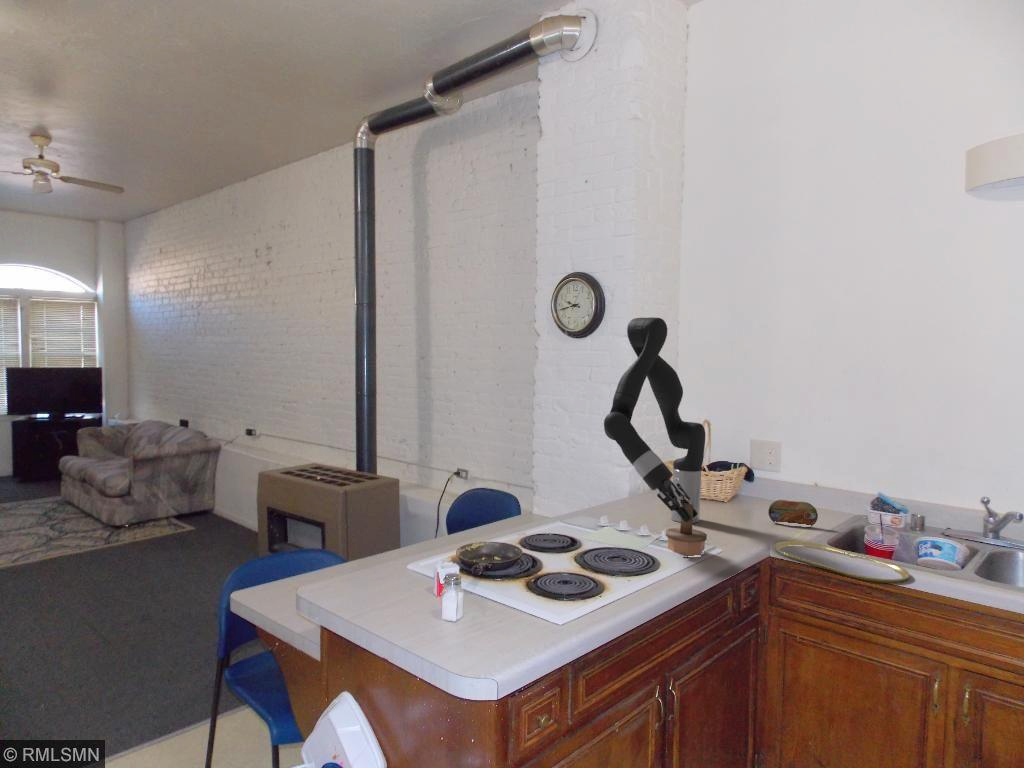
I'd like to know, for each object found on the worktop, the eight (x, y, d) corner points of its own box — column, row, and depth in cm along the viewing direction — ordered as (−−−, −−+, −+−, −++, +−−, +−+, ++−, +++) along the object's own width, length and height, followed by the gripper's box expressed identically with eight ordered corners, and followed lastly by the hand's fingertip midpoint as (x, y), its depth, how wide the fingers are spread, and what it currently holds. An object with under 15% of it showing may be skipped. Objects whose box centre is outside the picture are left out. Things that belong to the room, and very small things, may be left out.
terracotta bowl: (674, 546, 183) (675, 530, 183) (707, 552, 178) (707, 536, 178) (664, 553, 176) (664, 537, 175) (697, 560, 171) (698, 543, 171)
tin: (767, 523, 215) (769, 499, 214) (767, 521, 218) (769, 497, 217) (817, 529, 209) (818, 504, 209) (816, 527, 212) (817, 502, 212)
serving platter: (883, 590, 153) (883, 583, 153) (760, 551, 183) (760, 545, 183) (924, 578, 163) (924, 572, 163) (800, 543, 193) (800, 538, 193)
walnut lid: (672, 529, 185) (674, 498, 184) (711, 535, 179) (712, 504, 178) (660, 537, 175) (661, 505, 175) (700, 544, 169) (701, 511, 169)
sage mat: (606, 529, 200) (606, 526, 200) (661, 539, 190) (662, 536, 190) (580, 541, 184) (580, 538, 184) (639, 553, 175) (639, 550, 175)
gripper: (652, 464, 174) (694, 515, 168) (669, 459, 187) (709, 505, 181) (633, 481, 177) (674, 531, 171) (651, 474, 190) (690, 521, 184)
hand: (692, 518), depth 176 cm, fingers open, 5 cm apart
